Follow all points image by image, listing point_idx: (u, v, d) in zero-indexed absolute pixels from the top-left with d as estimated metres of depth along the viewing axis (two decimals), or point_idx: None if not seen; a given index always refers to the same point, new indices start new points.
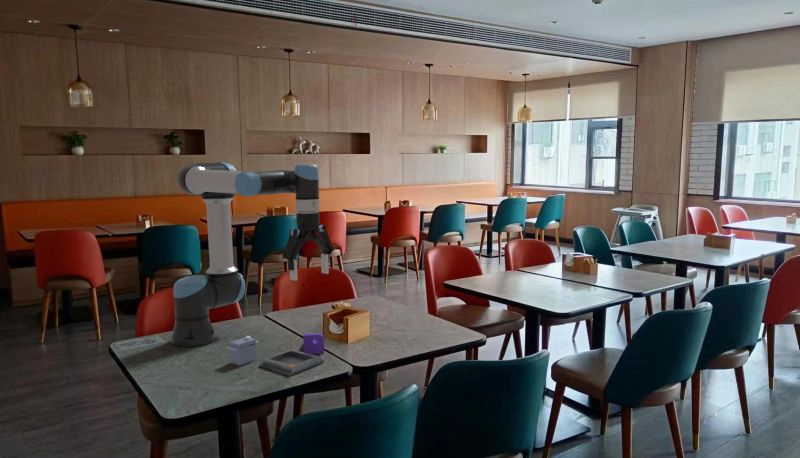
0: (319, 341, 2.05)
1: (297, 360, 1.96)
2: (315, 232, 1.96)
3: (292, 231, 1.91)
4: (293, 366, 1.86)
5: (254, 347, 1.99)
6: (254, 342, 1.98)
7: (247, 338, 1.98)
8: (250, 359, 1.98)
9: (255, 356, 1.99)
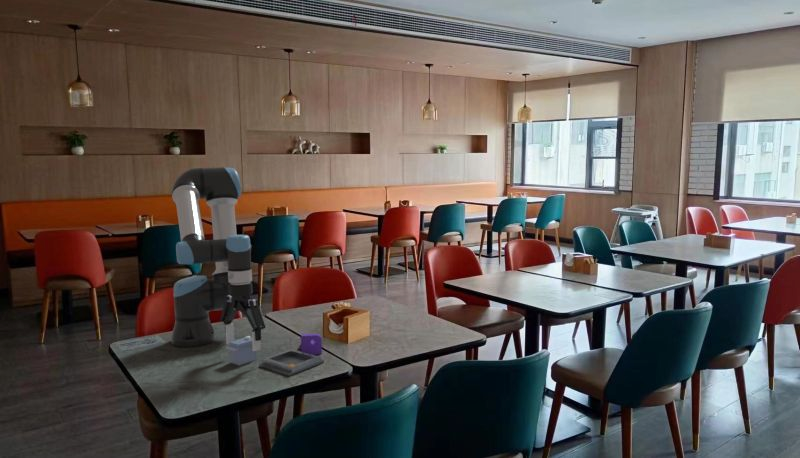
0: (317, 342, 2.04)
1: (297, 360, 1.96)
2: (238, 304, 1.93)
3: None
4: (293, 366, 1.86)
5: None
6: None
7: (247, 338, 1.98)
8: (250, 359, 1.98)
9: (255, 356, 1.99)
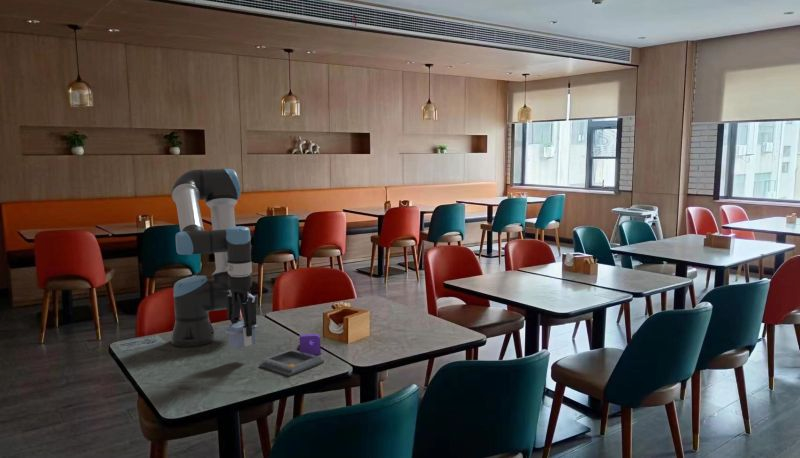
0: (316, 342, 2.04)
1: (297, 360, 1.96)
2: (238, 296, 1.94)
3: None
4: (293, 366, 1.86)
5: (253, 331, 1.98)
6: (253, 326, 1.98)
7: None
8: None
9: (254, 340, 1.99)
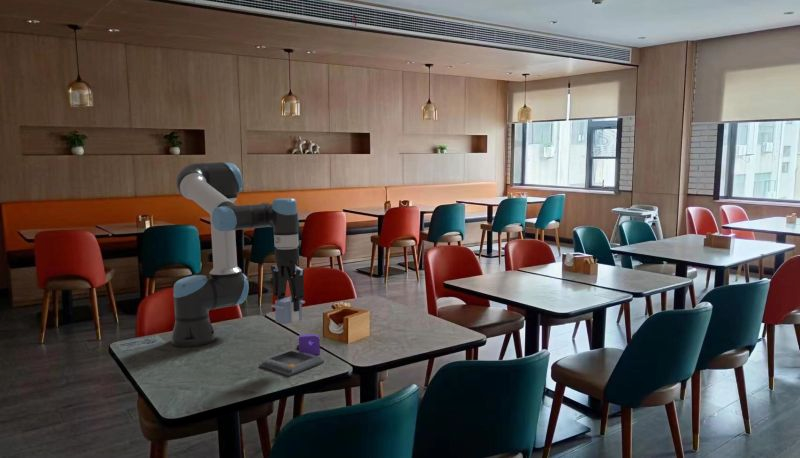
0: (315, 342, 2.04)
1: (297, 360, 1.96)
2: (285, 269, 1.88)
3: None
4: (293, 366, 1.86)
5: (300, 306, 1.93)
6: (300, 301, 1.92)
7: None
8: None
9: (300, 316, 1.93)
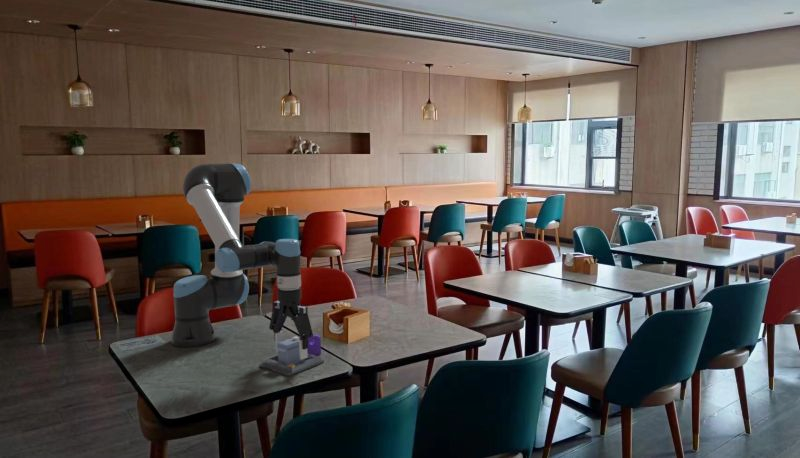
0: (316, 342, 2.03)
1: None
2: (287, 310, 1.90)
3: None
4: (293, 366, 1.86)
5: None
6: None
7: (295, 339, 1.94)
8: (298, 360, 1.94)
9: None
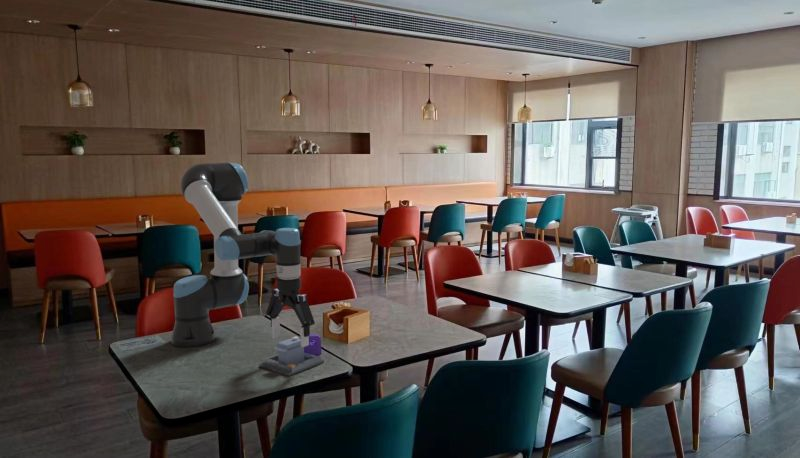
0: (316, 342, 2.03)
1: None
2: (287, 299, 1.89)
3: None
4: (293, 366, 1.86)
5: (302, 348, 1.94)
6: None
7: (295, 339, 1.94)
8: (298, 360, 1.94)
9: (303, 357, 1.95)
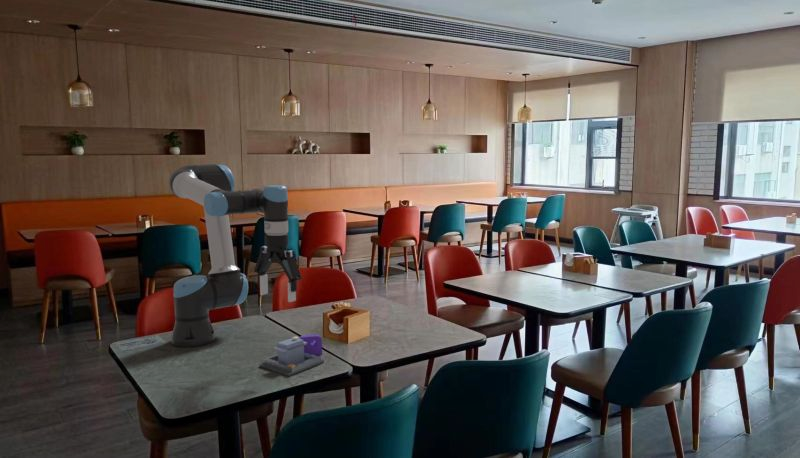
0: (317, 342, 2.03)
1: None
2: (274, 255, 1.93)
3: None
4: (293, 366, 1.86)
5: (302, 348, 1.94)
6: (302, 343, 1.94)
7: (295, 339, 1.94)
8: (298, 360, 1.94)
9: (303, 357, 1.95)
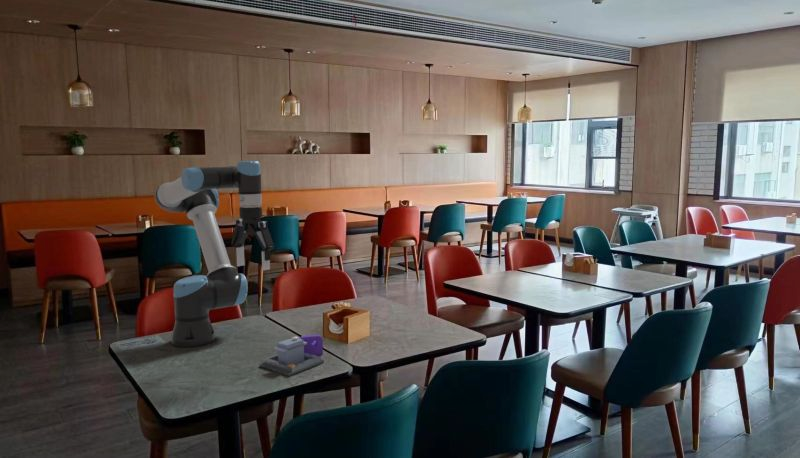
0: (318, 342, 2.03)
1: None
2: (249, 226, 2.04)
3: None
4: (293, 366, 1.86)
5: (302, 348, 1.94)
6: (302, 343, 1.94)
7: (295, 339, 1.94)
8: (298, 360, 1.94)
9: (303, 357, 1.95)
